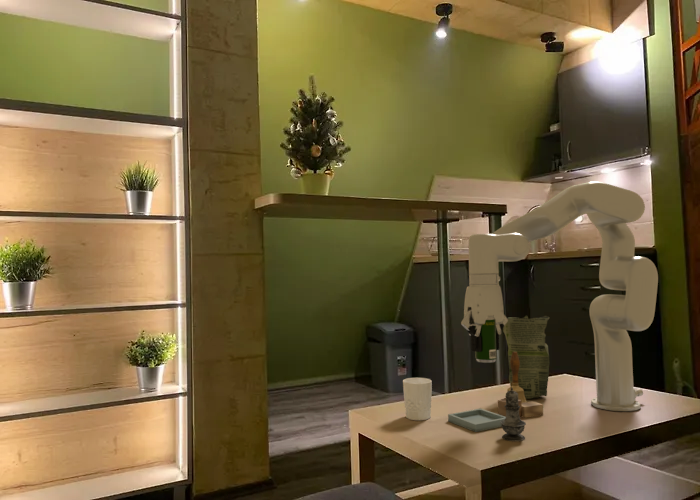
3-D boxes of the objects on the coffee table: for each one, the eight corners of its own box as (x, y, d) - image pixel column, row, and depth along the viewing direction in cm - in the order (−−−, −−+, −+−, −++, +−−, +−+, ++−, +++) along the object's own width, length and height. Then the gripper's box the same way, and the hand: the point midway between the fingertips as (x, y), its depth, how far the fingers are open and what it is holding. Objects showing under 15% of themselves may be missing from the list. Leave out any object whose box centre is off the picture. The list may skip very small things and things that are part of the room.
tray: (480, 414, 149) (480, 408, 149) (509, 424, 139) (508, 417, 139) (448, 421, 144) (448, 414, 144) (475, 431, 134) (475, 424, 134)
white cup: (435, 414, 151) (434, 378, 151) (429, 422, 143) (428, 384, 144) (407, 412, 153) (406, 377, 154) (400, 420, 146) (399, 382, 146)
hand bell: (504, 402, 161) (502, 349, 161) (533, 405, 157) (531, 350, 158) (498, 409, 154) (496, 353, 154) (528, 412, 150) (526, 354, 150)
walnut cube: (507, 413, 150) (506, 397, 150) (522, 416, 146) (521, 400, 146) (498, 417, 147) (497, 400, 147) (512, 420, 143) (512, 403, 143)
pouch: (502, 395, 169) (499, 315, 170) (525, 389, 176) (522, 312, 177) (532, 402, 160) (529, 317, 161) (556, 395, 167) (552, 314, 168)
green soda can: (500, 361, 141) (499, 314, 141) (488, 363, 138) (487, 316, 138) (483, 358, 145) (482, 313, 146) (471, 361, 142) (470, 315, 142)
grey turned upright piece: (497, 434, 132) (495, 384, 132) (520, 433, 132) (518, 383, 132) (506, 442, 126) (504, 390, 126) (530, 441, 126) (528, 389, 127)
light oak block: (533, 412, 151) (533, 401, 151) (543, 415, 147) (542, 404, 147) (515, 414, 149) (515, 403, 149) (524, 418, 145) (524, 407, 145)
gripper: (498, 280, 149) (500, 346, 149) (448, 281, 141) (450, 351, 141) (518, 280, 143) (520, 349, 142) (467, 282, 135) (469, 355, 134)
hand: (485, 349), depth 141 cm, fingers closed on green soda can, 5 cm apart
